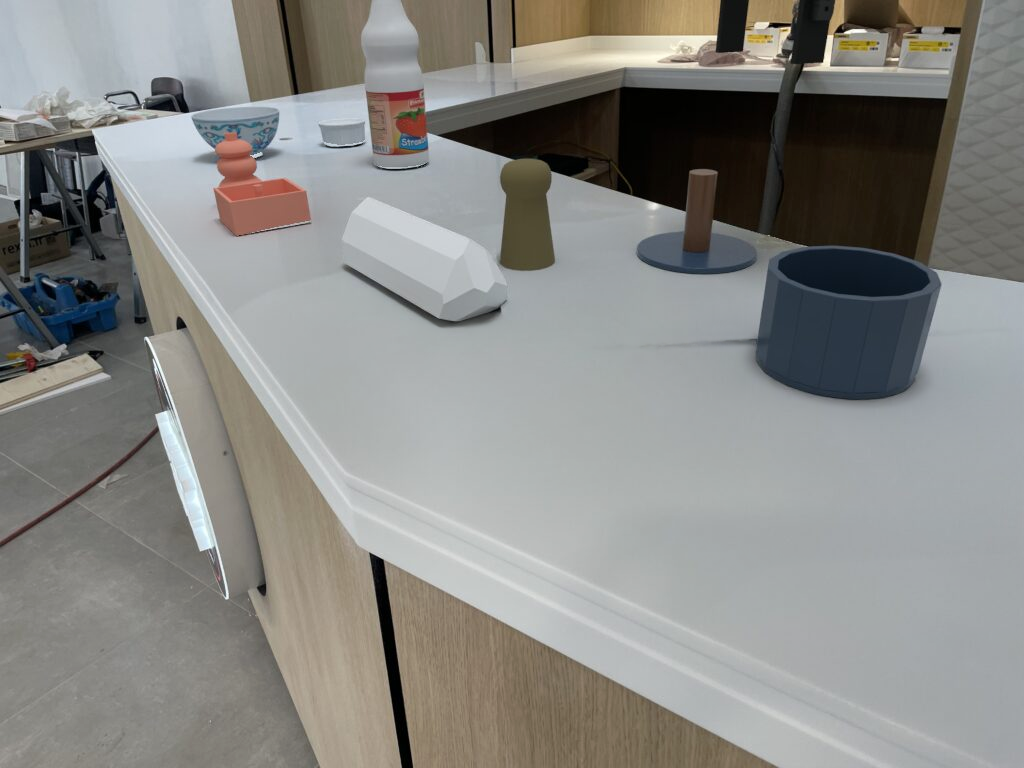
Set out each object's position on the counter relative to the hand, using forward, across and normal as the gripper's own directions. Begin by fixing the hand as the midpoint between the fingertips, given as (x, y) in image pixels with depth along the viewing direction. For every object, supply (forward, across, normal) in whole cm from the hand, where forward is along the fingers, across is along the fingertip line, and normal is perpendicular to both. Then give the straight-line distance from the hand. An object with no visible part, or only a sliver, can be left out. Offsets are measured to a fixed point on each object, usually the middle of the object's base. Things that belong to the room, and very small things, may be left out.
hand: (764, 57), depth 69 cm
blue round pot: (+20, +25, -6) cm, 32 cm away
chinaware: (+20, -78, -57) cm, 99 cm away
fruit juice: (+20, -61, -30) cm, 70 cm away
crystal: (+20, -2, -34) cm, 40 cm away
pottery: (+20, -36, -52) cm, 66 cm away
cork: (+20, -4, -22) cm, 30 cm away
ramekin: (+20, -84, -38) cm, 94 cm away
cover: (+19, -1, -5) cm, 20 cm away
